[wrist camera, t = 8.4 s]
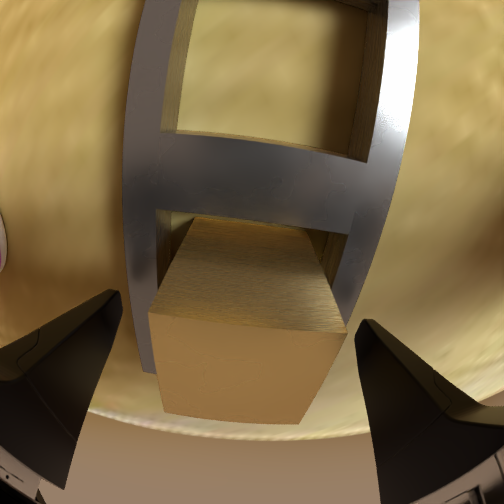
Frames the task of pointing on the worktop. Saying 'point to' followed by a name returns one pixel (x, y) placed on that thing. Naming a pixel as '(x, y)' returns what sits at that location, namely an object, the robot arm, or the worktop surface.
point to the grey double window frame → (261, 159)
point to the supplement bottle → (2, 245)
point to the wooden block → (244, 324)
